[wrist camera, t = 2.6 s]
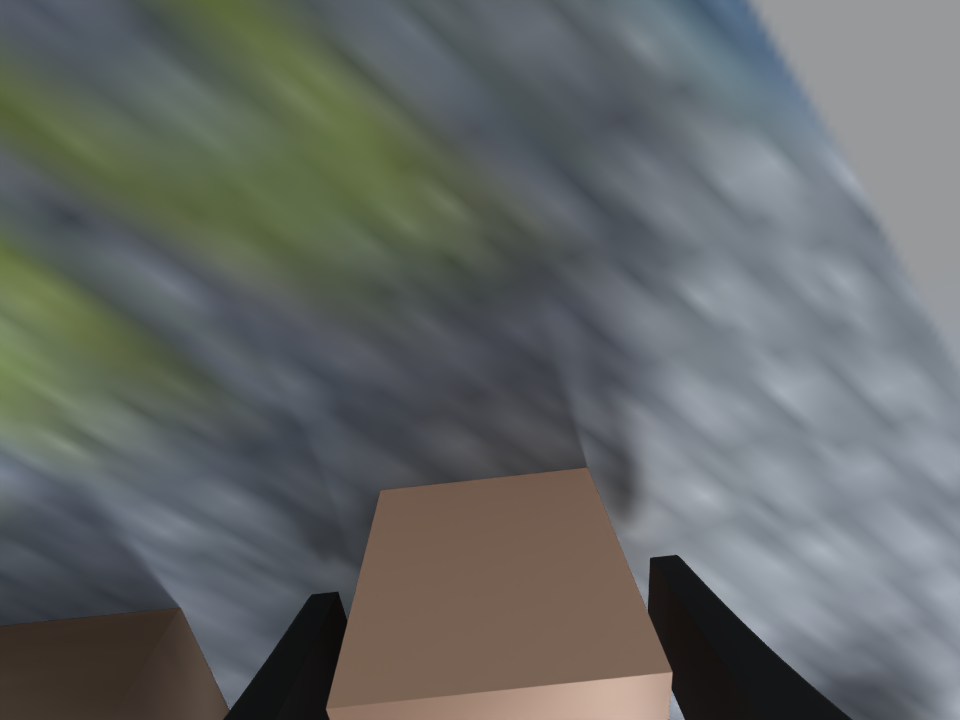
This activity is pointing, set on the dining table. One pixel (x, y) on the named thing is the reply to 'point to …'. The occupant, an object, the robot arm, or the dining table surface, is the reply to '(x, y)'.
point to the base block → (107, 670)
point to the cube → (498, 609)
